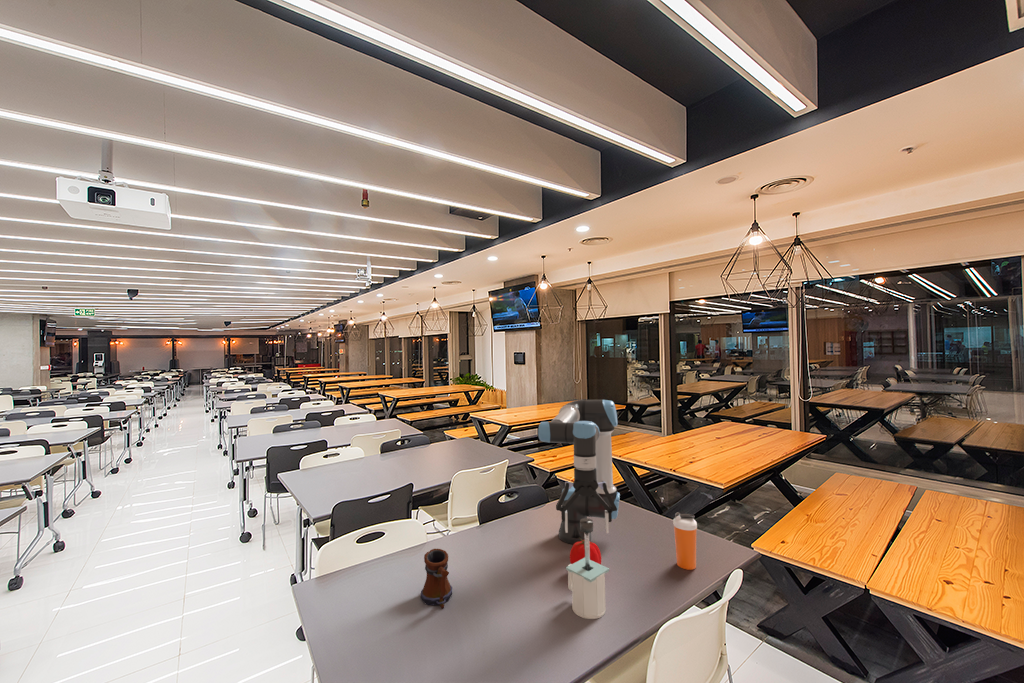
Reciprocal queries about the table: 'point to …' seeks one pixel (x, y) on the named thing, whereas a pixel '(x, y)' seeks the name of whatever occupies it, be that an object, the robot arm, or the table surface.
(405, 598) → the table surface
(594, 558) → the tomato
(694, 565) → the shaker bottle
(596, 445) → the robot arm
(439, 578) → the mug
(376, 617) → the table surface
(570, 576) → the press pot
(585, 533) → the plunger
